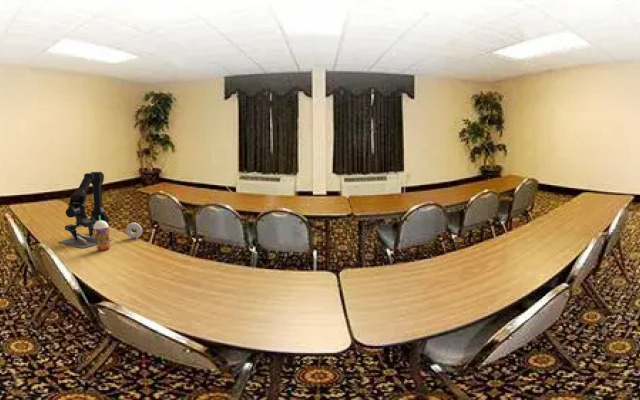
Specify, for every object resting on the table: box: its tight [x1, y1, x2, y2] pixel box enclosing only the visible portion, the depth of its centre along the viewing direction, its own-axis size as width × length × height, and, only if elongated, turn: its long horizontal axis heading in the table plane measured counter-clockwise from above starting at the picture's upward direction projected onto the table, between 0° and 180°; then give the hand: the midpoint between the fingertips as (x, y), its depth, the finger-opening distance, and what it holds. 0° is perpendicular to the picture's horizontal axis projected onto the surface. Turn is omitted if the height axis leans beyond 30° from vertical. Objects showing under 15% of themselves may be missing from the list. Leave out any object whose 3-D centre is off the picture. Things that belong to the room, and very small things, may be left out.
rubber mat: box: [58, 234, 112, 250], centre depth 295 cm, size 18×27×1 cm, turn 55°
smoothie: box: [93, 216, 111, 252], centre depth 275 cm, size 8×8×20 cm
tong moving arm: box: [77, 235, 87, 245], centre depth 292 cm, size 18×2×2 cm, turn 42°
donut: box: [125, 222, 143, 239], centre depth 298 cm, size 10×4×10 cm, turn 94°
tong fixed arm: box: [71, 232, 96, 242], centre depth 296 cm, size 23×4×4 cm, turn 56°
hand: (83, 238), depth 297 cm, fingers open, 9 cm apart
